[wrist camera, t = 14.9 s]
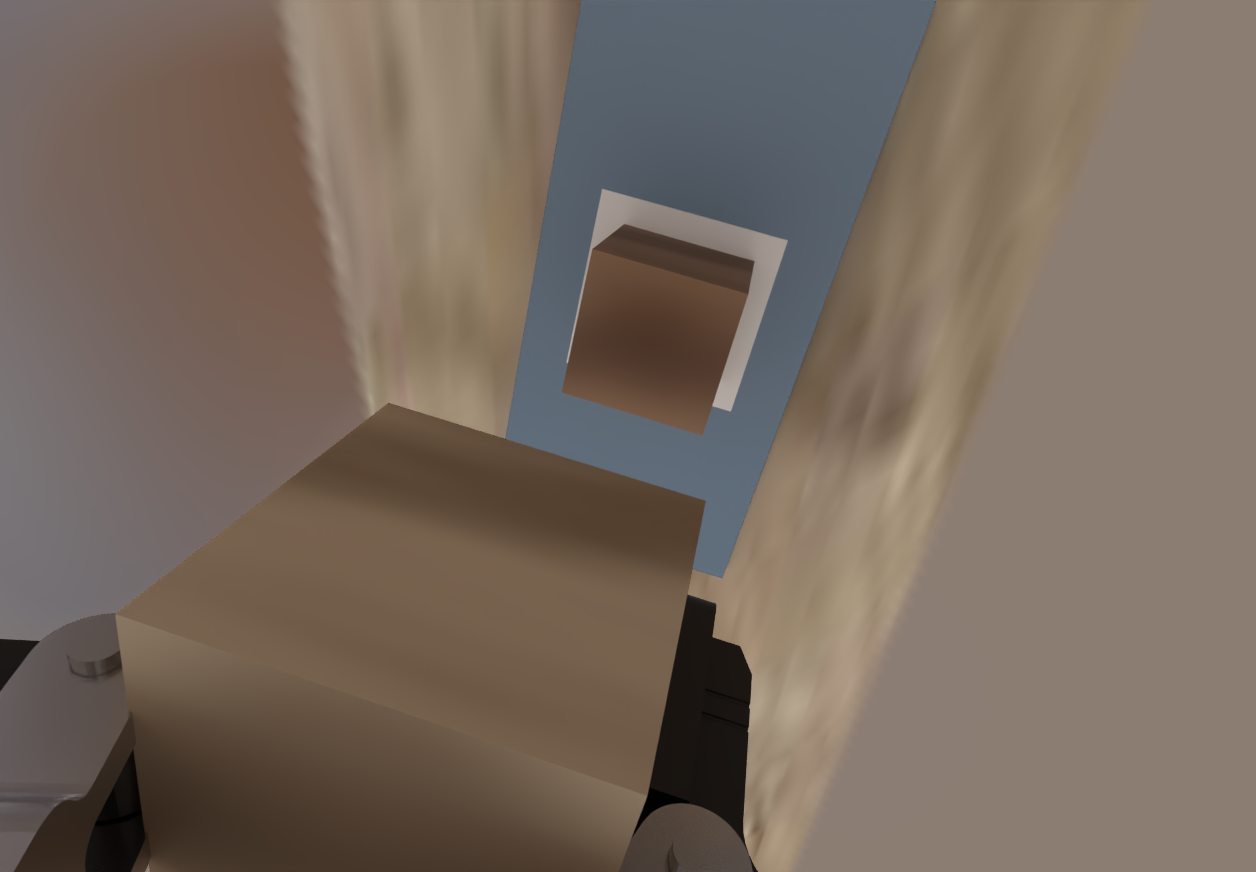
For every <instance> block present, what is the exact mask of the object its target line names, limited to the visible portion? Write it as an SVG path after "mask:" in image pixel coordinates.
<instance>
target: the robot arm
mask: <svg viewBox="0 0 1256 872" xmlns="http://www.w3.org/2000/svg"><path fill="white" fill-rule="evenodd" d="M115 614H116V613H111V614H101V615H96V616H91V617H87V618H83V619H80V620H77V621H75V622H72V623H69V624H67V625H65V626H63V627H61V628H59V629H57V630H55V631H54V632H52V633H50V634H49V635H47V636H46V637H45V638H44V639H42V640H41V641H27V640H8V639H0V872H145V871H146V868H147V866H148V864H149V861H150V859H151V851H150V844H149V836H148V833H147V832H145V831H144V824H143V817H142V809H141V802H140V795H139V787H138V780H137V772H136V765H135V758H134V750H133V748H134V746H135V744H136V737H135V729H134V722H133V714H132V712H130V711H128V706H127V698H126V691H125V684H124V676H123V669H122V661H121V654H120V647H119V639H118V632H117V624H116V617H115ZM715 614H716V604H715V603H712V602H709V601H706V600H703V599H700V598H697V597H693V596H690V595H687V599H686V604H685V609H684V614H683V619H682V624H681V629H680V634H679V639H678V644H677V649H676V654H675V659H674V664H673V669H672V674H671V679H670V685H669V690H668V695H667V700H666V705H665V710H664V715H663V720H662V725H661V730H660V735H659V740H658V745H657V750H656V755H655V760H654V765H653V770H652V775H651V780H650V785H649V790H648V795H647V798H646V801H645V804H644V806H643V809H642V812H641V814H640V817H639V819H638V822H637V825H636V827H635V830H634V833H633V835H632V838H631V841H630V843H629V846H628V848H627V851H626V854H625V856H624V859H623V862H622V864H621V867H620V870H619V872H758V871H757V870H756V868H755V866H754V864H753V862H752V860H751V858H750V856H749V854H748V850H747V847H746V844H745V839H744V834H743V815H744V798H745V781H746V765H747V748H748V732H747V731H748V727H749V714H750V709H749V705H750V698H751V681H752V674H751V671H750V669H749V667H748V664H747V662H746V659H745V657H744V654H743V652H742V649H741V647H740V646H738V645H735V644H732V643H728V642H725V641H722V640H719V639H716V638H713V637H712V635H713V628H714V621H715Z"/></svg>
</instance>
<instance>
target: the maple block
mask: <svg viewBox="0 0 1256 872" xmlns="http://www.w3.org/2000/svg"><path fill="white" fill-rule="evenodd" d="M705 503H706V501H705V500H702V499H698V498H695V497H692V496H689V495H686V494H682V493H679V492H676V491H673V490H669V489H666V488H663V487H660V486H656V485H653V484H650V483H647V482H643V481H640V480H637V479H634V478H630V477H627V476H624V475H621V474H617V473H614V472H611V471H608V470H604V469H601V468H598V467H595V466H591V465H588V464H585V463H582V462H578V461H575V460H572V459H569V458H566V457H562V456H559V455H556V454H553V453H549V452H546V451H543V450H540V449H536V448H533V447H530V446H527V445H523V444H520V443H517V442H514V441H510V440H507V439H504V438H501V437H497V436H494V435H491V434H488V433H484V432H481V431H478V430H475V429H471V428H468V427H465V426H462V425H458V424H455V423H452V422H449V421H446V420H442V419H439V418H436V417H433V416H429V415H426V414H423V413H420V412H416V411H413V410H410V409H407V408H403V407H400V406H397V405H394V404H390V403H388V404H387V405H385V406H384V407H383V408H381V409H380V410H379V411H378V412H376V413H375V414H374V415H372V416H371V417H370V418H369V419H367V420H366V421H365V422H363V423H362V424H361V425H359V426H358V427H357V428H356V429H354V430H353V431H352V432H350V433H349V434H348V435H346V436H345V437H344V438H343V439H341V440H340V441H339V442H337V443H336V444H335V445H334V446H332V447H331V448H330V449H328V450H327V451H326V452H325V453H323V454H322V455H321V456H319V457H318V458H317V459H316V460H314V461H313V462H311V463H310V464H309V465H308V466H306V467H305V468H304V469H302V470H301V471H300V472H299V473H297V474H296V475H295V476H293V477H292V478H291V479H289V480H288V481H287V482H286V483H284V484H283V485H282V486H280V487H279V488H278V489H277V490H275V491H274V492H273V493H271V494H270V495H269V496H267V497H266V498H265V499H264V500H262V501H261V502H260V503H258V504H257V505H256V506H254V507H253V508H252V509H251V510H249V511H248V512H247V513H245V514H244V515H243V516H242V517H240V518H239V519H238V520H236V521H235V522H234V523H232V524H231V525H230V526H229V527H227V528H226V529H225V530H223V531H222V532H221V533H220V534H218V535H217V536H216V537H214V538H213V539H212V540H210V541H209V542H208V543H207V544H205V545H204V546H203V547H201V548H200V549H199V550H197V551H196V552H195V553H194V554H192V555H191V556H190V557H188V558H187V559H186V560H184V561H183V562H182V563H181V564H179V565H178V566H177V567H176V568H174V569H173V570H172V571H170V572H169V573H168V574H166V575H165V576H164V577H162V578H161V579H160V580H159V581H157V582H156V583H155V584H153V585H152V586H151V587H149V589H147V590H146V591H144V592H143V593H142V594H140V595H139V596H138V597H137V598H135V599H134V600H133V601H131V602H130V603H129V604H127V605H126V606H125V607H124V608H122V609H121V610H120V611H118V612H117V613H116V614H115V617H116V624H117V632H118V639H119V647H120V654H121V661H122V669H123V676H124V684H125V691H126V698H127V706H128V711H130V712H132V714H133V722H134V729H135V737H136V744H135V746H134V748H133V750H134V758H135V765H136V772H137V780H138V787H139V795H140V802H141V809H142V817H143V824H144V831H145V832H147V833H148V836H149V844H150V851H151V859H150V861H149V868H150V872H619V870H620V867H621V864H622V862H623V859H624V856H625V854H626V851H627V848H628V846H629V843H630V841H631V838H632V835H633V833H634V830H635V827H636V825H637V822H638V819H639V817H640V814H641V812H642V809H643V806H644V804H645V801H646V798H647V795H648V790H649V785H650V780H651V775H652V770H653V765H654V760H655V755H656V750H657V745H658V740H659V735H660V730H661V725H662V720H663V715H664V710H665V705H666V700H667V695H668V690H669V685H670V679H671V674H672V669H673V664H674V659H675V654H676V649H677V644H678V639H679V634H680V629H681V624H682V619H683V614H684V609H685V604H686V599H687V594H688V589H689V584H690V579H691V574H692V568H693V563H694V558H695V553H696V548H697V543H698V538H699V533H700V528H701V523H702V518H703V513H704V508H705Z"/></svg>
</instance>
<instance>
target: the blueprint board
mask: <svg viewBox="0 0 1256 872" xmlns="http://www.w3.org/2000/svg"><path fill="white" fill-rule="evenodd" d="M935 4H936V1H935V0H581V5H580V11H579V17H578V23H577V28H576V34H575V40H574V46H573V52H572V57H571V63H570V69H569V75H568V80H567V86H566V92H565V98H564V103H563V109H562V115H561V121H560V127H559V132H558V138H557V144H556V150H555V155H554V161H553V167H552V173H551V178H550V184H549V190H548V196H547V202H546V207H545V213H544V219H543V225H542V230H541V236H540V242H539V248H538V253H537V259H536V265H535V271H534V277H533V282H532V288H531V294H530V300H529V305H528V311H527V317H526V323H525V328H524V334H523V340H522V346H521V352H520V357H519V363H518V369H517V375H516V380H515V386H514V392H513V398H512V403H511V409H510V415H509V421H508V427H507V432H506V438H505V439H507V440H510V441H514V442H517V443H520V444H523V445H527V446H530V447H533V448H536V449H540V450H543V451H546V452H549V453H553V454H556V455H559V456H562V457H566V458H569V459H572V460H575V461H578V462H582V463H585V464H588V465H591V466H595V467H598V468H601V469H604V470H608V471H611V472H614V473H617V474H621V475H624V476H627V477H630V478H634V479H637V480H640V481H643V482H647V483H650V484H653V485H656V486H660V487H663V488H666V489H669V490H673V491H676V492H679V493H682V494H686V495H689V496H692V497H695V498H698V499H702V500H705V501H706V503H705V508H704V513H703V518H702V523H701V528H700V533H699V538H698V543H697V548H696V553H695V558H694V563H693V568H692V569H694V570H698V571H701V572H704V573H707V574H710V575H713V576H717V577H720V578H722V577H723V574H724V572H725V569H726V566H727V564H728V561H729V558H730V556H731V553H732V550H733V547H734V545H735V542H736V539H737V537H738V534H739V531H740V529H741V526H742V523H743V521H744V518H745V515H746V512H747V510H748V507H749V504H750V502H751V499H752V496H753V494H754V491H755V488H756V486H757V483H758V480H759V477H760V475H761V472H762V469H763V467H764V464H765V461H766V459H767V456H768V453H769V451H770V448H771V445H772V442H773V440H774V437H775V434H776V432H777V429H778V426H779V424H780V421H781V418H782V416H783V413H784V410H785V407H786V405H787V402H788V399H789V397H790V394H791V391H792V389H793V386H794V383H795V381H796V378H797V375H798V372H799V370H800V367H801V364H802V362H803V359H804V356H805V354H806V351H807V348H808V346H809V343H810V340H811V338H812V335H813V332H814V329H815V327H816V324H817V321H818V319H819V316H820V313H821V311H822V308H823V305H824V303H825V300H826V297H827V294H828V292H829V289H830V286H831V284H832V281H833V278H834V276H835V273H836V270H837V268H838V265H839V262H840V259H841V257H842V254H843V251H844V249H845V246H846V243H847V241H848V238H849V235H850V233H851V230H852V227H853V224H854V222H855V219H856V216H857V214H858V211H859V208H860V206H861V203H862V200H863V198H864V195H865V192H866V189H867V187H868V184H869V181H870V179H871V176H872V173H873V171H874V168H875V165H876V163H877V160H878V157H879V154H880V152H881V149H882V146H883V144H884V141H885V138H886V136H887V133H888V130H889V128H890V125H891V122H892V119H893V117H894V114H895V111H896V109H897V106H898V103H899V101H900V98H901V95H902V93H903V90H904V87H905V84H906V82H907V79H908V76H909V74H910V71H911V68H912V66H913V63H914V60H915V58H916V55H917V52H918V50H919V47H920V44H921V41H922V39H923V36H924V33H925V31H926V28H927V25H928V23H929V20H930V17H931V15H932V12H933V9H934V6H935ZM624 224H626V225H630V226H633V227H637V228H640V229H644V230H647V231H651V232H654V233H658V234H661V235H665V236H668V237H672V238H675V239H679V240H682V241H686V242H689V243H693V244H696V245H700V246H703V247H707V248H710V249H714V250H717V251H721V252H724V253H728V254H731V255H735V256H738V257H742V258H745V259H749V260H752V261H755V262H754V267H753V272H752V278H751V283H750V288H749V294H748V297H747V300H746V303H745V306H744V309H743V312H742V315H741V319H740V322H739V325H738V328H737V331H736V334H735V337H734V340H733V343H732V346H731V349H730V352H729V356H728V359H727V362H726V365H725V368H724V371H723V374H722V377H721V380H720V383H719V386H718V390H717V393H716V396H715V399H714V402H713V405H712V408H711V411H710V414H709V417H708V420H707V423H706V427H705V430H704V433H703V436H702V435H699V434H696V433H692V432H689V431H686V430H683V429H679V428H676V427H673V426H669V425H666V424H663V423H660V422H656V421H653V420H650V419H647V418H643V417H640V416H637V415H634V414H630V413H627V412H624V411H620V410H617V409H614V408H611V407H607V406H604V405H601V404H598V403H594V402H591V401H588V400H584V399H581V398H578V397H575V396H571V395H568V394H565V393H562V389H563V384H564V379H565V375H566V370H567V365H568V360H569V356H570V351H571V346H572V342H573V337H574V332H575V328H576V323H577V318H578V314H579V309H580V304H581V300H582V295H583V290H584V285H585V281H586V276H587V271H588V267H589V262H590V257H591V253H592V249H593V248H594V247H595V246H597V245H598V244H599V243H601V242H602V241H603V240H604V239H606V238H607V237H608V236H610V235H611V234H612V233H613V232H615V231H616V230H617V229H619V228H620V227H621V226H622V225H624Z"/></svg>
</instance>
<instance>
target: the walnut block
mask: <svg viewBox="0 0 1256 872" xmlns="http://www.w3.org/2000/svg"><path fill="white" fill-rule="evenodd" d="M754 262H755V261H752V260H749V259H745V258H742V257H738V256H735V255H731V254H728V253H724V252H721V251H717V250H714V249H710V248H707V247H703V246H700V245H696V244H693V243H689V242H686V241H682V240H679V239H675V238H672V237H668V236H665V235H661V234H658V233H654V232H651V231H647V230H644V229H640V228H637V227H633V226H630V225H626V224H624V225H622V226H621V227H620V228H619V229H617V230H616V231H615V232H613V233H612V234H611V235H610V236H608V237H607V238H606V239H604V240H603V241H602V242H601V243H599V244H598V245H597V246H595V247H594V248H593V249H592V253H591V257H590V262H589V267H588V271H587V276H586V281H585V285H584V290H583V295H582V300H581V304H580V309H579V314H578V318H577V323H576V328H575V332H574V337H573V342H572V346H571V351H570V356H569V360H568V365H567V370H566V375H565V379H564V384H563V389H562V393H565V394H568V395H571V396H575V397H578V398H581V399H584V400H588V401H591V402H594V403H598V404H601V405H604V406H607V407H611V408H614V409H617V410H620V411H624V412H627V413H630V414H634V415H637V416H640V417H643V418H647V419H650V420H653V421H656V422H660V423H663V424H666V425H669V426H673V427H676V428H679V429H683V430H686V431H689V432H692V433H696V434H699V435H702V436H703V433H704V430H705V427H706V423H707V420H708V417H709V414H710V411H711V408H712V405H713V402H714V399H715V396H716V393H717V390H718V386H719V383H720V380H721V377H722V374H723V371H724V368H725V365H726V362H727V359H728V356H729V352H730V349H731V346H732V343H733V340H734V337H735V334H736V331H737V328H738V325H739V322H740V319H741V315H742V312H743V309H744V306H745V303H746V300H747V297H748V294H749V288H750V283H751V278H752V272H753V267H754Z"/></svg>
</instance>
